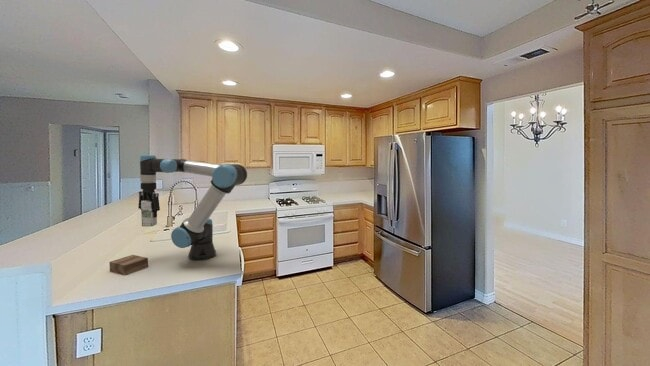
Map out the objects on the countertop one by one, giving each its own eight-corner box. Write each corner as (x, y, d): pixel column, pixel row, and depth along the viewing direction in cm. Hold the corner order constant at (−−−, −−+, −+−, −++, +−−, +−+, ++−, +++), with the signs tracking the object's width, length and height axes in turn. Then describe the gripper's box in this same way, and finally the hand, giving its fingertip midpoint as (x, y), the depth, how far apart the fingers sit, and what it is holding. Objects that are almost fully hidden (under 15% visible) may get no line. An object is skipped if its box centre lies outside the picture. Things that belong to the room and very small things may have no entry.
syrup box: (157, 224, 161) (156, 199, 160) (152, 226, 155) (151, 201, 154) (146, 224, 160) (146, 199, 159) (141, 226, 155) (140, 201, 153)
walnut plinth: (148, 266, 150) (147, 257, 149) (125, 275, 139) (124, 265, 138) (133, 263, 154) (132, 254, 154) (109, 271, 143) (109, 261, 143)
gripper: (167, 183, 155) (167, 223, 157) (143, 180, 163) (144, 218, 165) (154, 183, 148) (154, 225, 150) (130, 181, 156) (131, 221, 158)
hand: (149, 222), depth 158 cm, fingers closed on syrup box, 8 cm apart
